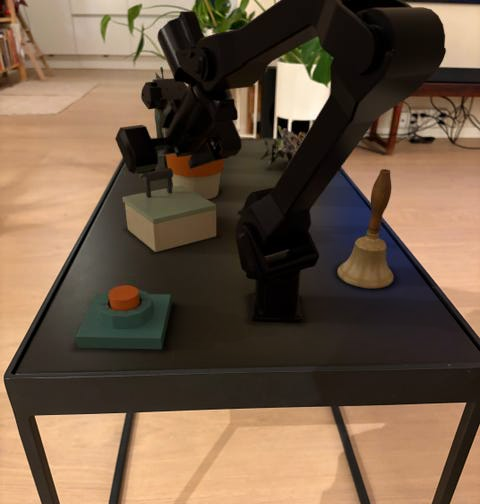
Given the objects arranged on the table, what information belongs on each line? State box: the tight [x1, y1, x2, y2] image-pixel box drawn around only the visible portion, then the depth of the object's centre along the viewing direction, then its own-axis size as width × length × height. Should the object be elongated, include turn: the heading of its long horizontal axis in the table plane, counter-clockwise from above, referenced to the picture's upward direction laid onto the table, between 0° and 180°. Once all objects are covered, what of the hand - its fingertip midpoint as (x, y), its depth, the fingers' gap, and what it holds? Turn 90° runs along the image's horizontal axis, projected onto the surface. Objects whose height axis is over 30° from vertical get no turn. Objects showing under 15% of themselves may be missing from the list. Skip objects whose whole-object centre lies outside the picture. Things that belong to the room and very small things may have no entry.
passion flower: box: [260, 125, 307, 169], centre depth 117 cm, size 11×11×12 cm
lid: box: [122, 168, 217, 224], centre depth 85 cm, size 11×12×5 cm
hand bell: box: [337, 168, 394, 290], centre depth 73 cm, size 8×8×16 cm
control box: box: [75, 289, 173, 350], centre depth 64 cm, size 10×10×4 cm
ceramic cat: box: [151, 66, 168, 169], centre depth 119 cm, size 20×6×20 cm, turn 10°
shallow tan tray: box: [124, 203, 217, 253], centre depth 88 cm, size 11×12×5 cm
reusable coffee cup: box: [162, 128, 226, 200], centre depth 102 cm, size 13×13×15 cm
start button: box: [108, 284, 140, 311], centre depth 63 cm, size 4×4×2 cm
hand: (165, 170), depth 84 cm, fingers open, 9 cm apart
